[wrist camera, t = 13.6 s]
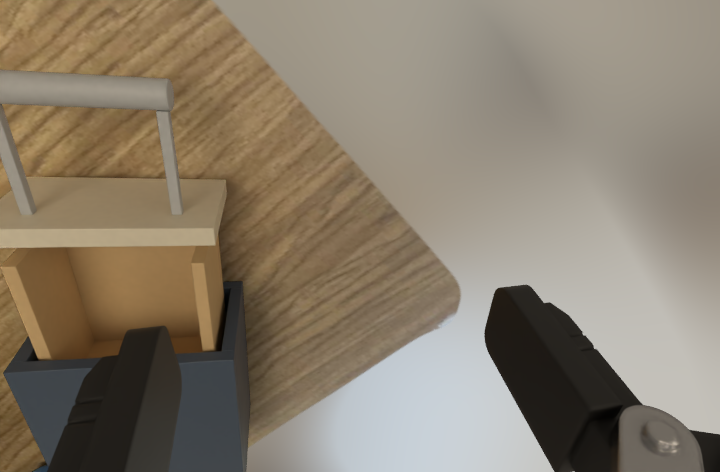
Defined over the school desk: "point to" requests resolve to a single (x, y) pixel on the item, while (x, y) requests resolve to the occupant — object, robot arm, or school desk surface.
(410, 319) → the school desk surface
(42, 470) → the grapes
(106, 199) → the drawer
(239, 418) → the cabinet
